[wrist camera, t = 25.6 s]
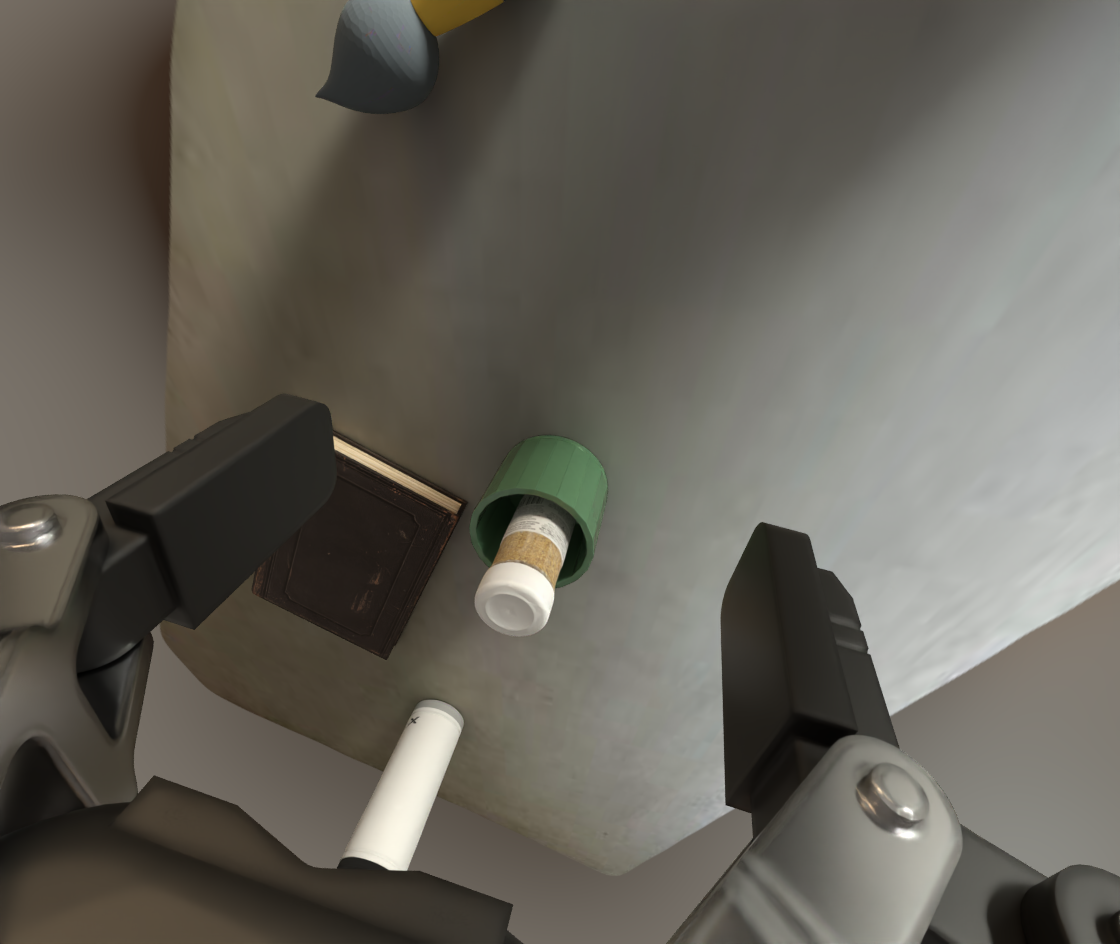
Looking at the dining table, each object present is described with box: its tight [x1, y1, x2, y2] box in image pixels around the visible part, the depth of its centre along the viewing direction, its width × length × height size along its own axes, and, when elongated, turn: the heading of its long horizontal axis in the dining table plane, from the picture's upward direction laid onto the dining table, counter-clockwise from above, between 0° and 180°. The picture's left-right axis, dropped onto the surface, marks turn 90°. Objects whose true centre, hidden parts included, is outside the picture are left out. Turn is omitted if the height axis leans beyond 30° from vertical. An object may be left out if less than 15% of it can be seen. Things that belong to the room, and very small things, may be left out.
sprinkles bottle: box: [475, 494, 576, 637], centre depth 36 cm, size 5×5×14 cm
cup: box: [469, 435, 608, 588], centre depth 40 cm, size 9×9×8 cm
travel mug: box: [337, 700, 464, 871], centre depth 56 cm, size 6×7×20 cm
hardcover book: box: [252, 431, 467, 660], centre depth 50 cm, size 16×23×2 cm
